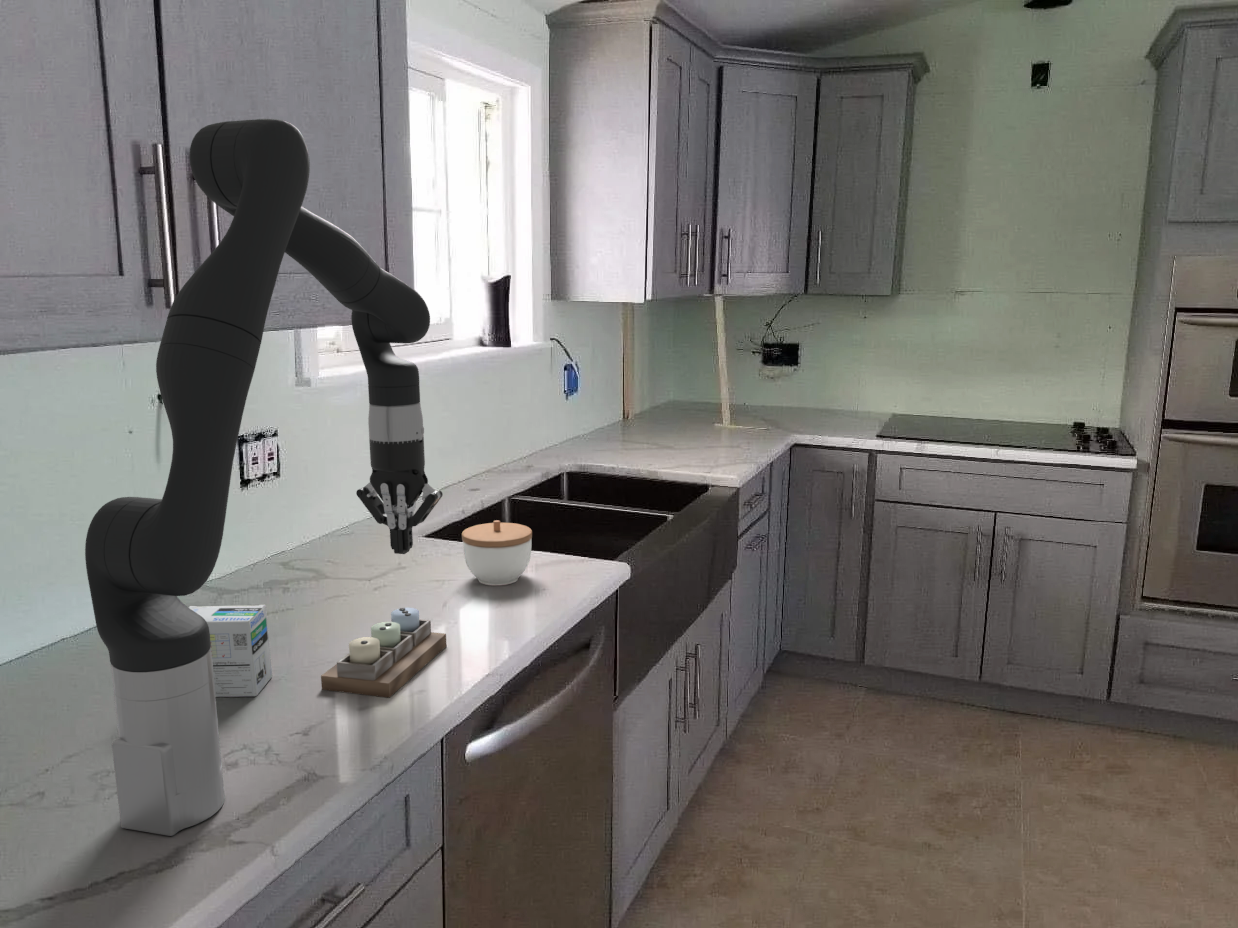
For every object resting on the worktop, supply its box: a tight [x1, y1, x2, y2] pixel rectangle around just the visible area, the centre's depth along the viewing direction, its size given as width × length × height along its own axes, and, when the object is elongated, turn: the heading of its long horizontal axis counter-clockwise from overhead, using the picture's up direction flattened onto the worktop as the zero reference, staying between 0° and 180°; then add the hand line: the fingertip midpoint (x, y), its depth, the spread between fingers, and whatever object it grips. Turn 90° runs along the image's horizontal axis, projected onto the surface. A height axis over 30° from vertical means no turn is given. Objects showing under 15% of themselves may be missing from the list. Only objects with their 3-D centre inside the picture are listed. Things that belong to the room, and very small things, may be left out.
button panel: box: [320, 618, 447, 699], centre depth 135 cm, size 18×10×4 cm, turn 166°
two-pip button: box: [370, 621, 401, 648], centre depth 134 cm, size 4×4×3 cm
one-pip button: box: [348, 636, 380, 665], centre depth 128 cm, size 4×4×3 cm
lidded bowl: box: [461, 519, 533, 587], centre depth 172 cm, size 13×13×11 cm
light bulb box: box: [187, 604, 273, 698], centre depth 127 cm, size 11×7×11 cm, turn 92°
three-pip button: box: [390, 607, 420, 632], centre depth 140 cm, size 4×4×3 cm
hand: (402, 552), depth 138 cm, fingers closed
